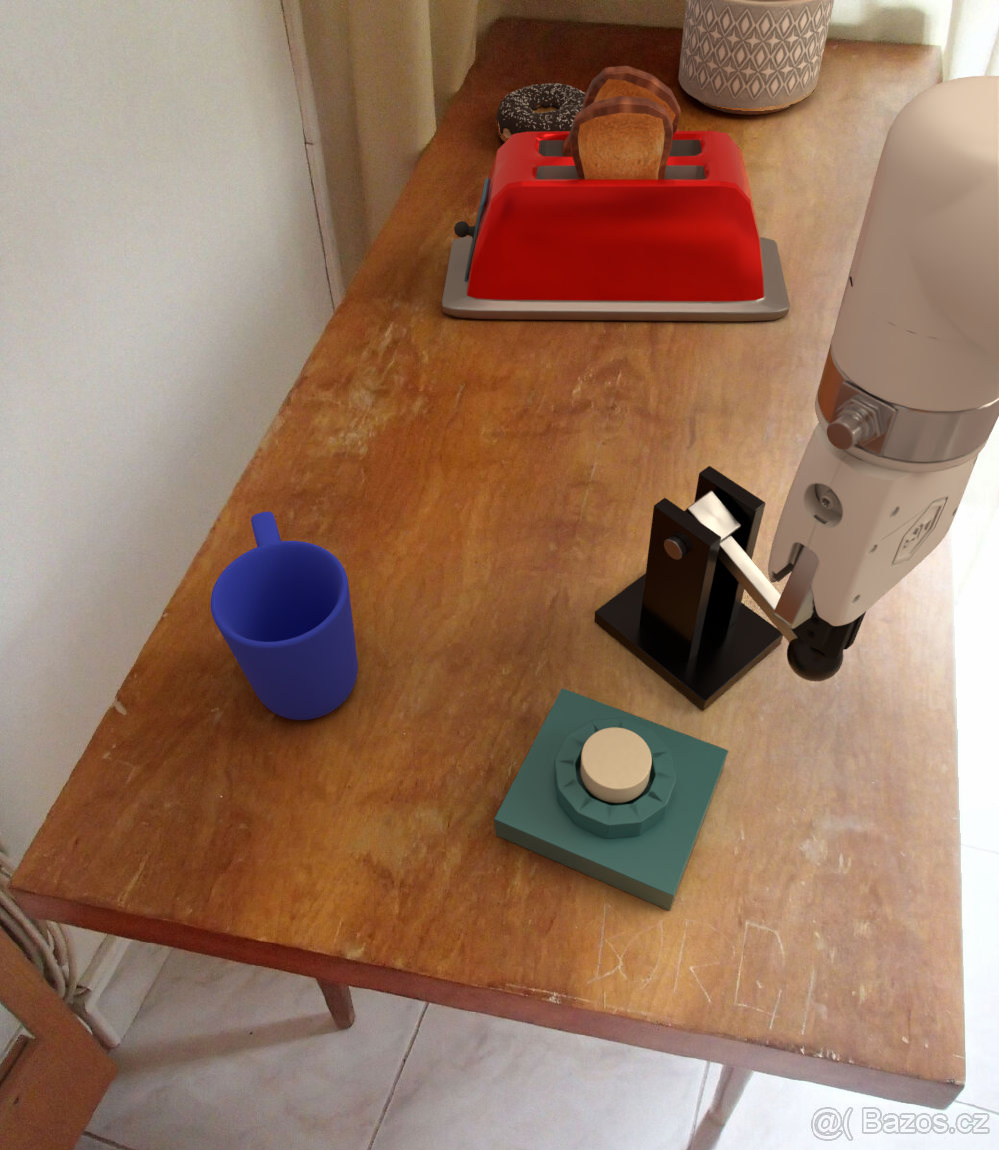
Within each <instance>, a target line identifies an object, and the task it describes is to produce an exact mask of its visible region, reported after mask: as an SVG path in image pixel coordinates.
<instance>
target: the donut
mask: <svg viewBox="0 0 999 1150" xmlns="http://www.w3.org/2000/svg"><path fill="white" fill-rule="evenodd" d="M585 94H586V92H583V91H582V90H580V89H578V88H575V87H574V86H571V85H568V84H563V83H559V82H557V83H554V82H553V83H542V84H532V85H527V86H524V87H522V88H519V89H517V90H515V91H512V92H509V93H508V94H506V95H505V97H504V98H502V100H501V101H500V104H499V105H498V108H497V112H496V118H495V119H496V122H497V121H498V126H499V130H500V133H501V134H503V135H504V136H505V137H506V138H510V137H511V136H512V135H513V134H516V133H522V132H544V131H570V130H571V127H572V124H573V121H574V118H575V115H576V114H577V113H579V112H580V111H581V109H582V105H583V101H584V97H585ZM499 137H500V139H501V141H502V142H504V143H505V142H506V141H505V140H504V139H503V138H502V137H501V136H500V135H499Z"/></svg>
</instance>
